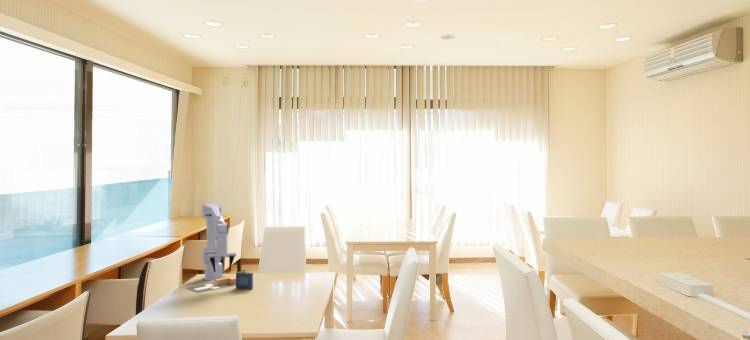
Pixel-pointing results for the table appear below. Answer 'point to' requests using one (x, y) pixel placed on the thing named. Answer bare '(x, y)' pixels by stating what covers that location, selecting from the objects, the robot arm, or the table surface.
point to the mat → (207, 287)
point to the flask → (244, 280)
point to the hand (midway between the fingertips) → (222, 271)
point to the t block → (225, 281)
